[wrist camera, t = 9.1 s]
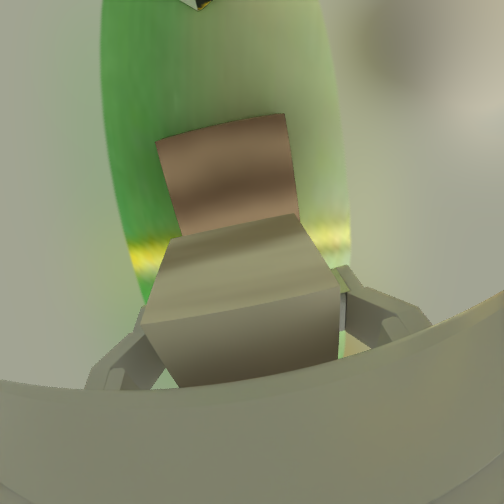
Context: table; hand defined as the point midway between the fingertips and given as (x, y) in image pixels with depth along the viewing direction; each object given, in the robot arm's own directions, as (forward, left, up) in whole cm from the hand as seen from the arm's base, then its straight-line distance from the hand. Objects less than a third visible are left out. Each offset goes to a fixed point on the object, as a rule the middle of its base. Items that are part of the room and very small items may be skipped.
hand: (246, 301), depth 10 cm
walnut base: (0, 0, -20) cm, 20 cm away
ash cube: (0, 0, -2) cm, 2 cm away
